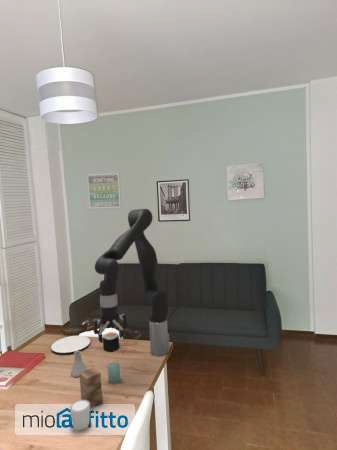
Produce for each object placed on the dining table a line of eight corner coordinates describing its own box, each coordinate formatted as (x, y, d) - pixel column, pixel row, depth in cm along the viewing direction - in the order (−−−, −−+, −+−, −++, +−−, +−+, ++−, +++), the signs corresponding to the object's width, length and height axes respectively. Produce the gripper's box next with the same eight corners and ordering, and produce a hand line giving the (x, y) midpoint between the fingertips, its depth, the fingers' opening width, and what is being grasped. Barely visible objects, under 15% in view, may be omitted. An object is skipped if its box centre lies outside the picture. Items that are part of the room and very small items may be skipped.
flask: (82, 378, 140) (81, 357, 139) (67, 377, 141) (66, 356, 140) (89, 369, 147) (88, 349, 146) (75, 368, 148) (74, 348, 147)
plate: (84, 355, 162) (84, 351, 162) (44, 356, 162) (44, 353, 162) (94, 338, 182) (94, 334, 182) (59, 339, 183) (59, 336, 183)
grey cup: (73, 418, 113) (72, 400, 113) (92, 416, 114) (91, 398, 113) (69, 432, 107) (67, 412, 106) (89, 430, 107) (88, 410, 107)
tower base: (98, 394, 127) (97, 380, 127) (102, 404, 121) (101, 389, 121) (81, 399, 124) (80, 385, 124) (84, 409, 118) (83, 394, 118)
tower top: (94, 381, 126) (93, 367, 126) (101, 387, 122) (100, 372, 122) (80, 387, 123) (79, 372, 122) (87, 394, 118) (86, 378, 118)
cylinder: (118, 376, 140) (117, 361, 140) (121, 381, 136) (120, 366, 135) (107, 379, 138) (106, 364, 138) (110, 385, 134) (109, 369, 133)
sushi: (111, 343, 173) (110, 329, 173) (122, 347, 169) (121, 333, 168) (100, 349, 167) (99, 335, 166) (111, 353, 162) (110, 338, 161)
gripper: (122, 298, 141) (124, 333, 142) (90, 304, 135) (93, 340, 136) (127, 303, 134) (129, 339, 135) (94, 309, 128) (96, 347, 130)
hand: (111, 340), depth 136 cm, fingers open, 8 cm apart
